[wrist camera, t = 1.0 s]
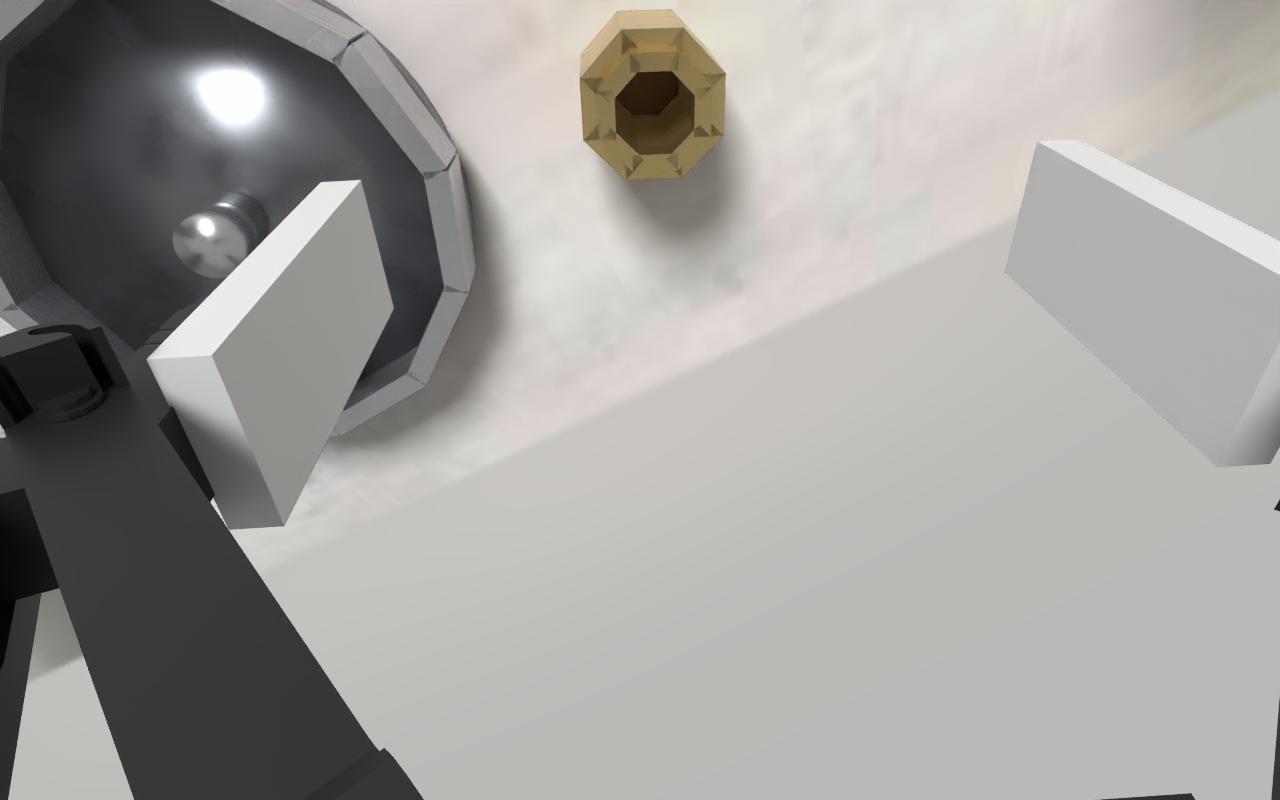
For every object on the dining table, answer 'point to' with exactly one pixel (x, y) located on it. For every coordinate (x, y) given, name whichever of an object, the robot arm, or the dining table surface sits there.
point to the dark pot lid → (216, 166)
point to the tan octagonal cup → (655, 138)
